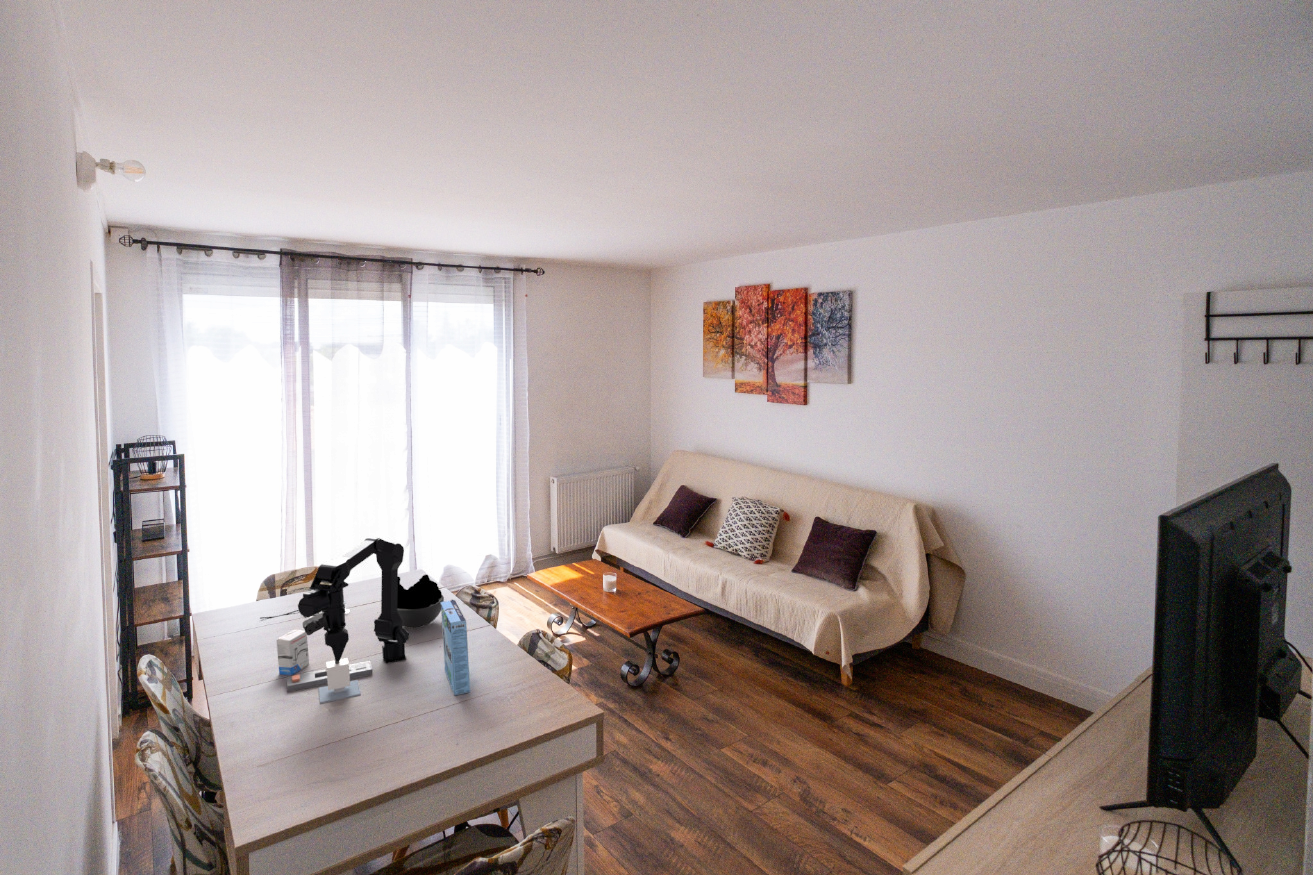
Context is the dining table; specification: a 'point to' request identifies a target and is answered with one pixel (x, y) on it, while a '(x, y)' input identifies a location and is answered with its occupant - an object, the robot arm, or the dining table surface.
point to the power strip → (325, 676)
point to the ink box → (292, 652)
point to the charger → (338, 675)
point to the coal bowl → (419, 603)
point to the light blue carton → (455, 647)
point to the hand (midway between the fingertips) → (336, 654)
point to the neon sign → (310, 616)
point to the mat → (331, 696)
